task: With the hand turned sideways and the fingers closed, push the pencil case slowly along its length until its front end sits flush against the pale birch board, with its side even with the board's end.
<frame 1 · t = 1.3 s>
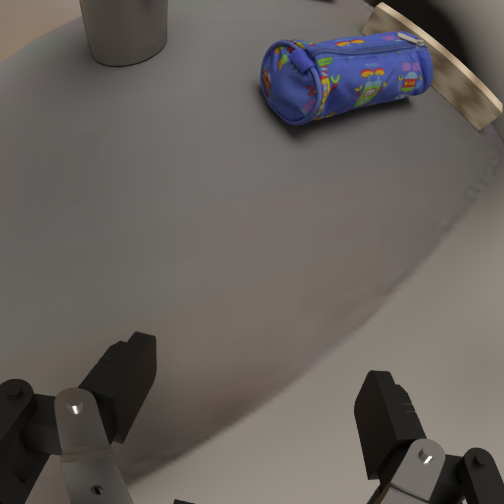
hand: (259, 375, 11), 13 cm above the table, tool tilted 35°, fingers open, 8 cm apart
birch board: (425, 75, 38), on the table
pencil case: (344, 94, 33), on the table
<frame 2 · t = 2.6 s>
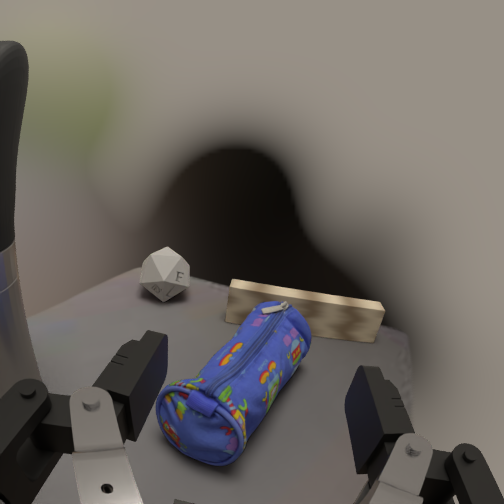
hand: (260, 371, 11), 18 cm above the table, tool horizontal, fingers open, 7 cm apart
birch board: (301, 329, 49), on the table
die: (164, 295, 53), on the table
pencil case: (242, 401, 33), on the table
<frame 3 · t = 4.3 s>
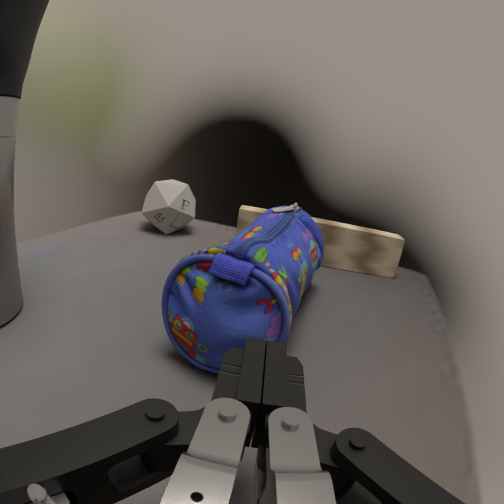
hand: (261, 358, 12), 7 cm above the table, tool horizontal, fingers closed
birch board: (316, 261, 46), on the table
die: (167, 230, 50), on the table
pencil case: (257, 315, 30), on the table
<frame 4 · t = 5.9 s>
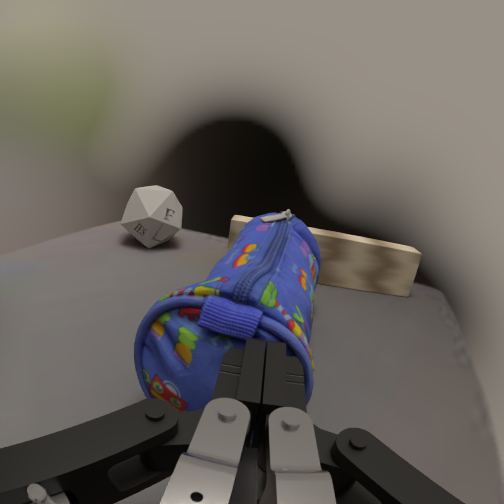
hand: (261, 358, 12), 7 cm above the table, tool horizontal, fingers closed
birch board: (321, 279, 40), on the table
die: (150, 243, 44), on the table
pencil case: (250, 348, 24), on the table, touching gripper
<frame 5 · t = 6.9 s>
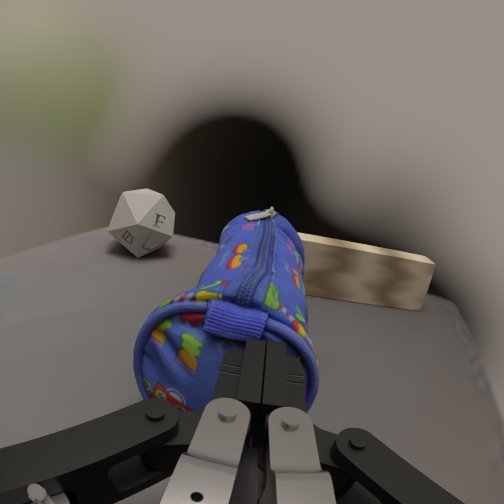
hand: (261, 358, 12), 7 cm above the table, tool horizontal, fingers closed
birch board: (326, 292, 36), on the table
die: (140, 251, 40), on the table
pencil case: (240, 347, 24), on the table, touching gripper
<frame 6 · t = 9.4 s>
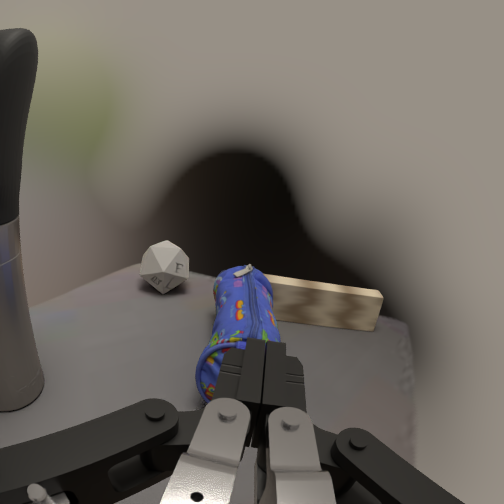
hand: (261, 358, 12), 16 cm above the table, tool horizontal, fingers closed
birch board: (300, 318, 50), on the table
die: (164, 288, 54), on the table
pencil case: (238, 358, 38), on the table
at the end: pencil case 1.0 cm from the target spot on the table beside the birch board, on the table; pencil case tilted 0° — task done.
